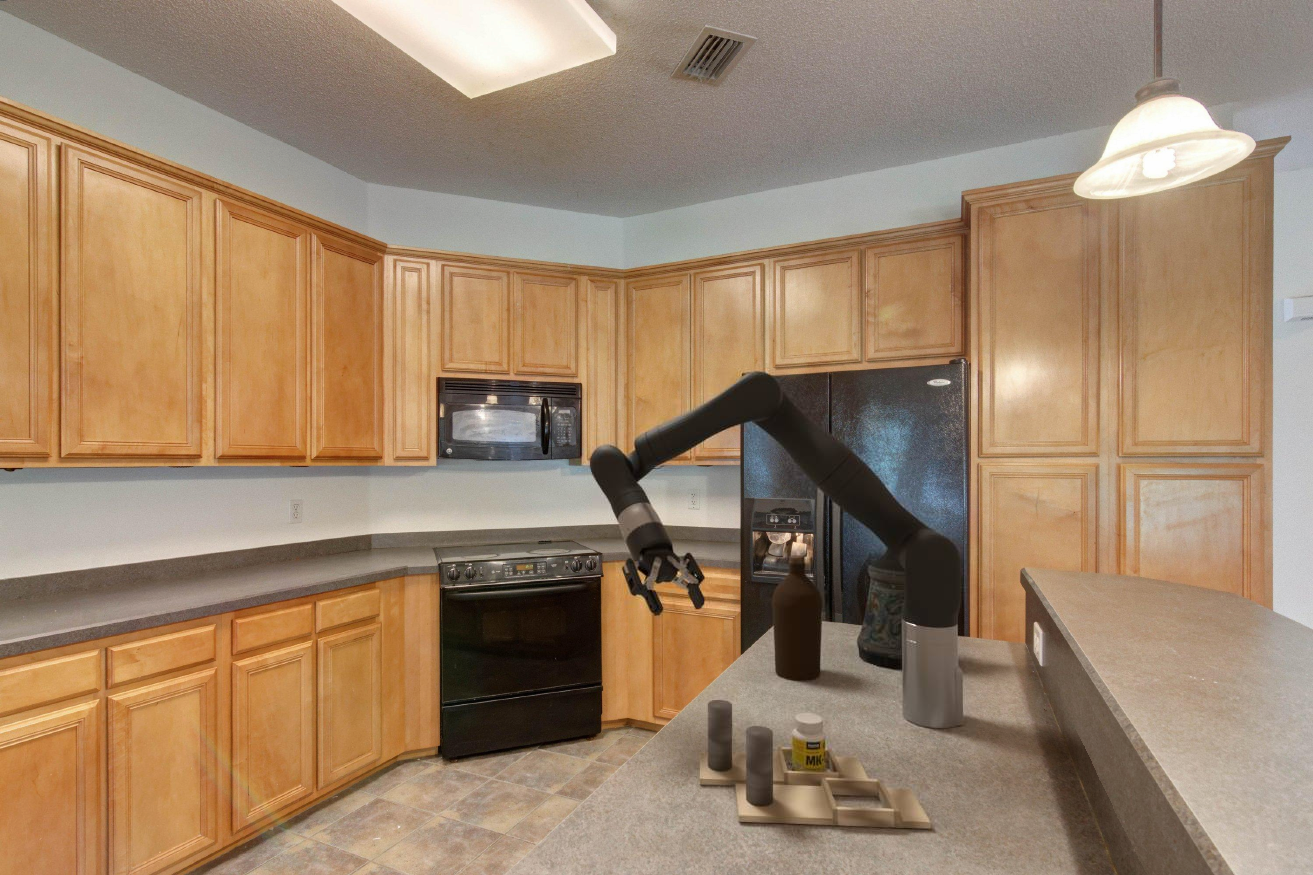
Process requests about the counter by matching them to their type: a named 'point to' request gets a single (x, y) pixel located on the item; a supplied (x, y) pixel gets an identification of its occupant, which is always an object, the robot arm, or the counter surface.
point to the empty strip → (817, 795)
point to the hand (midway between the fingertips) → (680, 609)
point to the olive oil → (797, 624)
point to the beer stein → (883, 614)
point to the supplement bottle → (808, 743)
